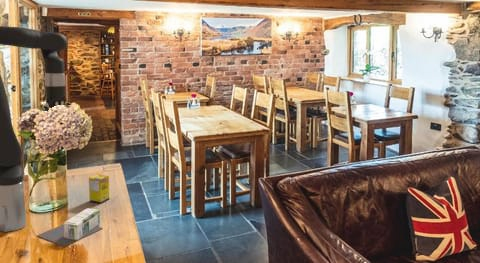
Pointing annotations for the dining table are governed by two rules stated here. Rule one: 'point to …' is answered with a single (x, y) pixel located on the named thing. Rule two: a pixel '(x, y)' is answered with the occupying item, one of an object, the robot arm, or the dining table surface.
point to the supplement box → (99, 188)
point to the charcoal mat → (58, 235)
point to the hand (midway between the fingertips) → (57, 127)
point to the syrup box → (81, 223)
